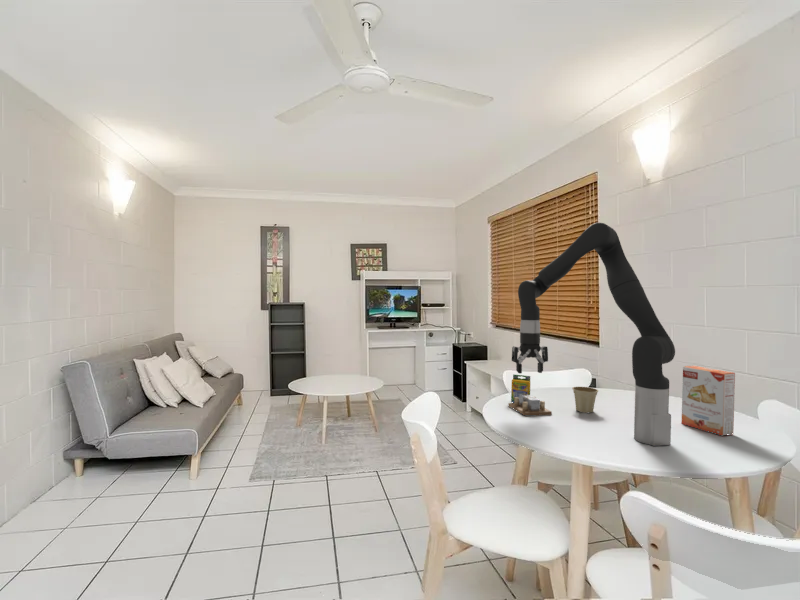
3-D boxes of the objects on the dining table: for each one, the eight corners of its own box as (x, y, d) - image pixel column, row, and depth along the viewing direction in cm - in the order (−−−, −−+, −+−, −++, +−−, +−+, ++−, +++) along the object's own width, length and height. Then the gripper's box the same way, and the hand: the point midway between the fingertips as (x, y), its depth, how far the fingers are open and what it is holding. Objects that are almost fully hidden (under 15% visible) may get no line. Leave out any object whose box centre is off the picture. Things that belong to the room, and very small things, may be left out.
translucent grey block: (539, 410, 163) (539, 400, 163) (531, 410, 163) (531, 400, 163) (527, 403, 173) (527, 393, 173) (519, 403, 173) (519, 394, 172)
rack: (551, 414, 162) (551, 403, 162) (524, 416, 160) (524, 404, 160) (533, 405, 176) (533, 394, 176) (508, 406, 174) (508, 395, 174)
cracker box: (680, 424, 152) (681, 365, 152) (691, 422, 154) (693, 365, 154) (722, 437, 139) (723, 373, 139) (734, 435, 141) (736, 372, 141)
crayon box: (510, 403, 179) (511, 375, 178) (512, 401, 181) (512, 374, 181) (528, 405, 175) (529, 377, 175) (530, 403, 178) (530, 375, 178)
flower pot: (592, 408, 172) (593, 386, 172) (601, 414, 163) (602, 392, 163) (568, 407, 173) (569, 386, 173) (576, 413, 164) (576, 391, 163)
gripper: (517, 332, 162) (517, 375, 162) (551, 332, 165) (551, 374, 165) (508, 331, 170) (508, 371, 170) (541, 330, 172) (541, 370, 172)
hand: (529, 372), depth 167 cm, fingers open, 8 cm apart
